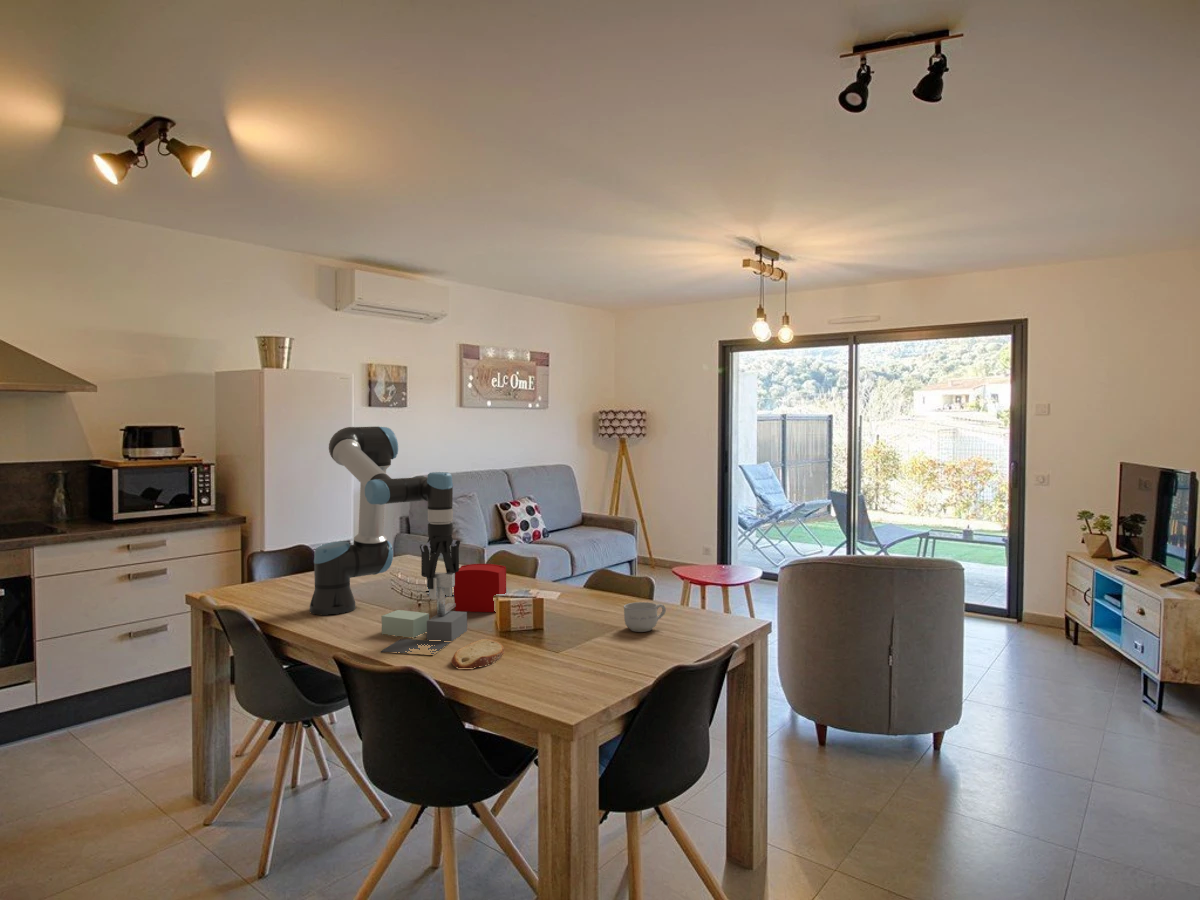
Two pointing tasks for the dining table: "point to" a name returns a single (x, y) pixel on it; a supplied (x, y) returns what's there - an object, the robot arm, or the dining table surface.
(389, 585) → the dining table surface
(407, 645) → the mat
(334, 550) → the robot arm
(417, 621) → the pale green block
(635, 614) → the teacup
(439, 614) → the t key
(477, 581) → the maroon rounded cube
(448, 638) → the block
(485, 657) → the bread slice
